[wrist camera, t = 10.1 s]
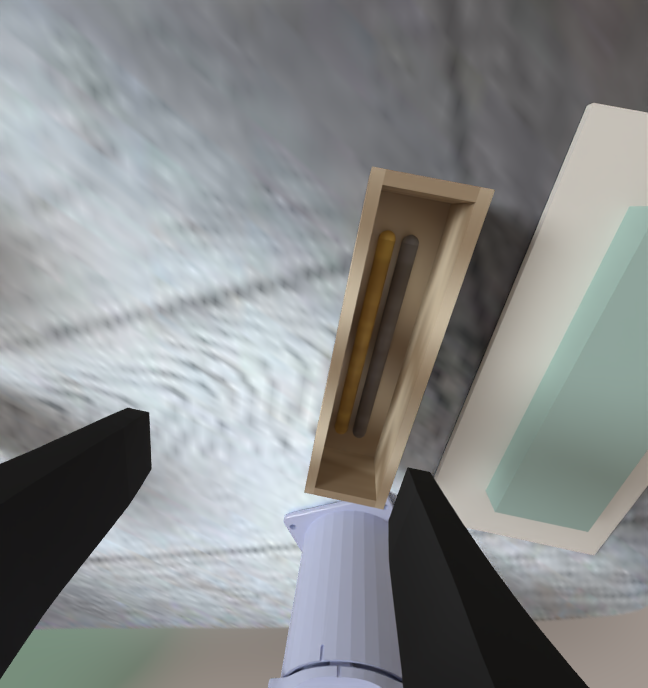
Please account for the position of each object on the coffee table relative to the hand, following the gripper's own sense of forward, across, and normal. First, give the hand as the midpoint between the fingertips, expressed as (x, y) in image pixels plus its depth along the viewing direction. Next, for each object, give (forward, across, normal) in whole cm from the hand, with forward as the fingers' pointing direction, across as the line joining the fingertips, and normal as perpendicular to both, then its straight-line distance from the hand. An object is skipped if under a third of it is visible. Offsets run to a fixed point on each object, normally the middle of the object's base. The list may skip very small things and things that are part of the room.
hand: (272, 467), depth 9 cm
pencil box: (+10, -3, 0) cm, 11 cm away
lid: (+10, -15, 0) cm, 18 cm away
